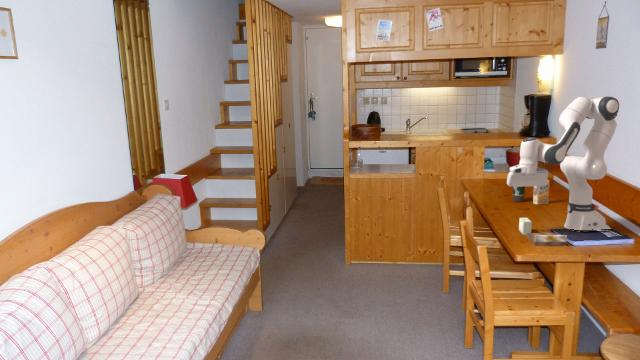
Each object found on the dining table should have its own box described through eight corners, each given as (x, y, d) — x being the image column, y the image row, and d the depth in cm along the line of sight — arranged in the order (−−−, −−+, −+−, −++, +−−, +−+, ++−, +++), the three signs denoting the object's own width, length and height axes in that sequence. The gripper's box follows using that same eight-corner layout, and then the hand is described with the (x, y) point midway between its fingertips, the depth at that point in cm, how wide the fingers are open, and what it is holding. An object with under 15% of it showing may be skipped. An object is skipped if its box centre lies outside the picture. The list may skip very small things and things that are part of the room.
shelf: (556, 236, 271) (556, 227, 270) (566, 245, 257) (567, 236, 256) (526, 236, 272) (526, 227, 271) (535, 245, 258) (535, 236, 257)
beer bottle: (521, 199, 348) (523, 164, 343) (526, 202, 340) (528, 166, 335) (510, 199, 347) (511, 164, 342) (514, 202, 340) (516, 166, 335)
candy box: (537, 204, 332) (538, 181, 329) (532, 203, 336) (533, 180, 333) (548, 203, 335) (549, 180, 332) (544, 202, 339) (545, 179, 336)
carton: (526, 230, 283) (526, 217, 282) (530, 234, 276) (531, 221, 274) (518, 230, 284) (518, 217, 282) (522, 234, 276) (523, 221, 275)
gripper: (546, 167, 275) (544, 193, 277) (506, 167, 276) (505, 193, 279) (550, 169, 269) (548, 195, 271) (509, 169, 270) (508, 195, 273)
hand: (526, 194), depth 275 cm, fingers open, 8 cm apart
